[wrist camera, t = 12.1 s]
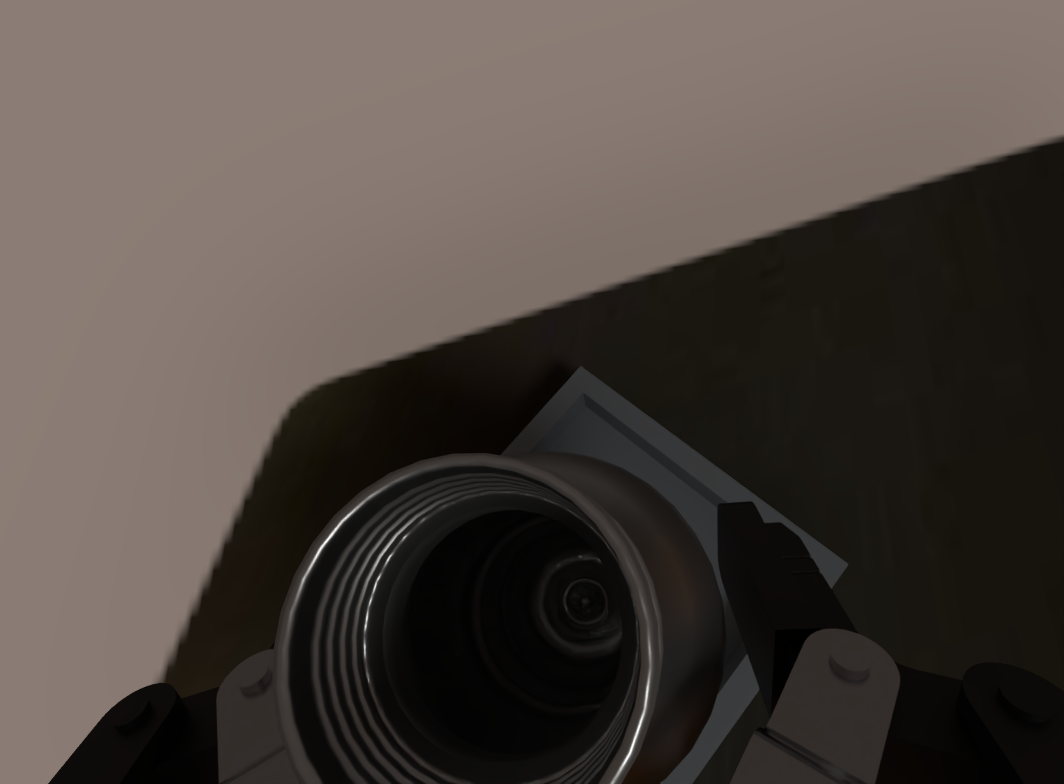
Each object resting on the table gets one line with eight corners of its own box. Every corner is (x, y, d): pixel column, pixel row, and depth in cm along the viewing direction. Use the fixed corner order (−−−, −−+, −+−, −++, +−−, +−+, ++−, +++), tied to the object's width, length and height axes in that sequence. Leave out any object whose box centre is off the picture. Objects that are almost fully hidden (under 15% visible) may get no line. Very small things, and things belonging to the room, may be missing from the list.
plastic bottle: (510, 534, 25) (188, 369, 6) (650, 522, 24) (749, 287, 5) (518, 685, 22) (31, 1131, 4) (674, 677, 21) (1000, 1192, 3)
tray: (594, 881, 20) (589, 926, 17) (377, 620, 25) (348, 624, 22) (820, 567, 23) (848, 564, 20) (584, 388, 28) (580, 366, 25)
